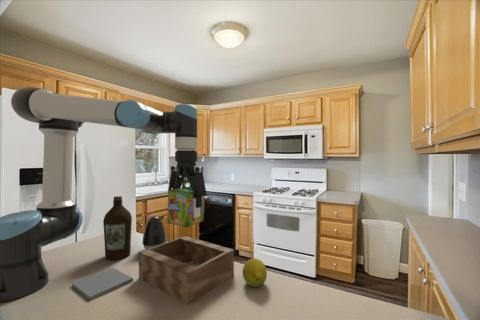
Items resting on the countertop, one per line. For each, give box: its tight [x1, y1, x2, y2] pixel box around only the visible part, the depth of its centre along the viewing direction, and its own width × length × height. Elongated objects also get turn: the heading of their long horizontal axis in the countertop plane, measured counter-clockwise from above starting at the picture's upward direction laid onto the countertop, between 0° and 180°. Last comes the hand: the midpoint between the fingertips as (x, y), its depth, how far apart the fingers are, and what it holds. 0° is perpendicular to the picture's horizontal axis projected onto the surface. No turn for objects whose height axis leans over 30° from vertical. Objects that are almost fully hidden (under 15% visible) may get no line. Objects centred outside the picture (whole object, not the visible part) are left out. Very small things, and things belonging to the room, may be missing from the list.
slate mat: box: [71, 267, 134, 301], centre depth 77 cm, size 13×13×1 cm
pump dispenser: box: [142, 215, 168, 250], centre depth 105 cm, size 10×10×15 cm
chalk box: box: [166, 178, 205, 228], centre depth 81 cm, size 9×9×15 cm
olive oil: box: [103, 195, 133, 261], centre depth 98 cm, size 11×11×25 cm
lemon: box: [242, 258, 268, 288], centre depth 76 cm, size 11×8×8 cm
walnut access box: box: [138, 235, 235, 306], centre depth 81 cm, size 25×20×9 cm
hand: (186, 214), depth 81 cm, fingers closed on chalk box, 9 cm apart
